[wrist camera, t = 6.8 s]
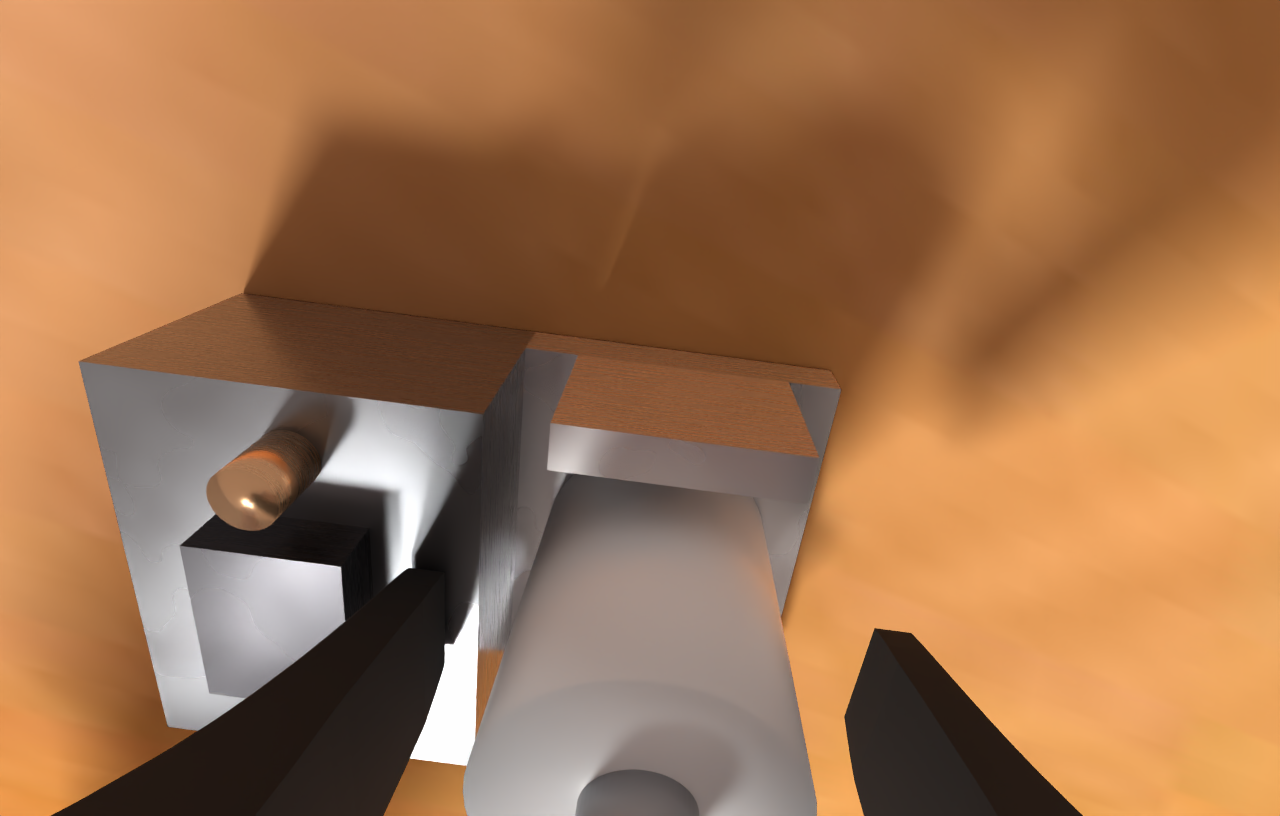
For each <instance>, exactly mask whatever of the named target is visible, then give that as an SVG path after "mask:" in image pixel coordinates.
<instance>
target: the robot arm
mask: <svg viewBox="0 0 1280 816" xmlns="http://www.w3.org/2000/svg"><path fill="white" fill-rule="evenodd" d="M444 666H445V572H439V571H431V570H423V569H415V568H407V569H406V570H404V571H403V572H402V573H401V574H399V575H398V576H397V577H396V578H395V579H394V580H392V581H391V582H390V583H389V584H388V585H387V586H386V587H384V588H383V589H382V590H381V591H380V592H379V593H377V594H376V595H375V596H374V597H373V598H372V599H371V600H369V601H368V602H367V603H366V604H365V605H364V606H363V607H361V608H360V609H359V610H358V611H357V612H355V613H354V614H353V615H352V616H351V617H350V618H348V619H347V620H346V621H345V622H344V623H343V624H341V625H340V626H339V627H338V628H336V629H335V630H334V631H333V632H331V633H330V634H329V635H328V636H327V637H325V638H324V639H323V640H322V641H320V642H319V643H318V644H317V645H316V646H314V647H313V648H312V649H311V650H309V651H308V652H307V653H306V654H304V655H303V656H302V657H301V658H299V659H298V660H297V661H295V662H294V663H293V664H291V665H290V666H289V667H287V668H286V669H285V670H283V671H282V672H281V673H279V674H278V675H277V676H275V677H274V678H273V679H271V680H270V681H269V682H267V683H266V684H265V685H263V686H262V687H261V688H259V689H258V690H257V691H255V692H254V693H253V694H251V695H250V696H248V697H247V698H246V699H244V700H243V701H241V702H240V703H238V704H237V705H236V706H234V707H233V708H231V709H230V710H228V711H227V712H225V713H224V714H223V715H221V716H220V717H218V718H217V719H215V720H214V721H212V722H211V723H209V724H208V725H206V726H205V727H203V728H201V729H200V730H198V731H197V732H195V733H194V734H192V735H191V736H189V737H188V738H186V739H184V740H183V741H181V742H180V743H178V744H177V745H175V746H173V747H172V748H170V749H168V750H167V751H165V752H163V753H162V754H160V755H158V756H157V757H155V758H153V759H152V760H150V761H148V762H146V763H145V764H143V765H141V766H139V767H138V768H136V769H134V770H132V771H131V772H129V773H127V774H125V775H124V776H122V777H120V778H118V779H117V780H115V781H113V782H111V783H110V784H108V785H106V786H104V787H103V788H101V789H99V790H97V791H96V792H94V793H92V794H90V795H89V796H87V797H85V798H83V799H81V800H80V801H78V802H76V803H74V804H72V805H70V806H68V807H66V808H65V809H63V810H61V811H59V812H57V813H55V814H53V815H51V816H383V815H384V813H385V811H386V809H387V806H388V804H389V802H390V800H391V798H392V796H393V793H394V791H395V789H396V787H397V785H398V783H399V781H400V778H401V776H402V774H403V772H404V770H405V768H406V765H407V763H408V761H409V759H410V757H411V754H412V752H413V750H414V748H415V746H416V744H417V741H418V739H419V737H420V735H421V733H422V730H423V728H424V726H425V723H426V720H427V718H428V715H429V712H430V709H431V706H432V703H433V700H434V697H435V694H436V691H437V688H438V685H439V682H440V679H441V675H442V672H443V669H444ZM845 724H846V731H847V738H848V745H849V752H850V757H851V763H852V769H853V775H854V780H855V784H856V788H857V792H858V795H859V799H860V803H861V806H862V810H863V813H864V816H1083V815H1082V814H1080V813H1079V812H1078V811H1077V810H1076V809H1075V808H1074V807H1073V806H1072V805H1071V804H1070V803H1069V802H1068V801H1067V800H1066V799H1065V798H1064V797H1063V796H1062V795H1061V794H1060V793H1059V792H1058V791H1057V790H1056V789H1055V788H1054V787H1053V786H1052V785H1051V784H1050V783H1049V782H1048V781H1047V780H1046V779H1045V778H1044V777H1043V776H1042V775H1041V774H1040V773H1039V772H1038V771H1037V770H1036V769H1035V768H1034V767H1033V766H1032V765H1031V764H1030V763H1029V762H1028V761H1027V760H1026V759H1025V757H1024V756H1023V755H1022V754H1021V753H1020V752H1019V751H1018V750H1017V749H1016V748H1015V747H1014V746H1013V745H1012V744H1011V743H1010V742H1009V741H1008V740H1007V738H1006V737H1005V736H1004V735H1003V734H1002V733H1001V732H1000V731H999V730H998V729H997V728H996V727H995V726H994V724H993V723H992V722H991V721H990V720H989V719H988V718H987V717H986V716H985V715H984V713H983V712H982V711H981V710H980V709H979V708H978V707H977V706H976V705H975V704H974V702H973V701H972V700H971V699H970V698H969V697H968V696H967V695H966V693H965V692H964V691H963V690H962V689H961V688H960V687H959V686H958V684H957V683H956V682H955V681H954V680H953V679H952V678H951V677H950V675H949V674H948V673H947V672H946V671H945V670H944V669H943V667H942V666H941V665H940V664H939V663H938V662H937V661H936V660H935V658H934V657H933V656H932V655H931V654H930V653H929V652H928V651H927V650H926V648H925V647H924V646H923V645H922V644H921V643H920V642H919V641H918V640H917V639H916V638H915V637H914V636H913V634H912V633H906V632H899V631H891V630H883V629H876V628H875V629H874V632H873V635H872V638H871V641H870V644H869V647H868V649H867V652H866V655H865V658H864V661H863V664H862V667H861V670H860V673H859V676H858V679H857V682H856V684H855V687H854V690H853V693H852V696H851V699H850V702H849V705H848V708H847V711H846V714H845Z"/></svg>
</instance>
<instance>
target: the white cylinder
mask: <svg viewBox="0 0 1280 816" xmlns="http://www.w3.org/2000/svg"><path fill="white" fill-rule="evenodd" d="M463 796H464V805H465V809H466V812H467V816H817V801H816V796H815V790H814V785H813V780H812V775H811V770H810V765H809V759H808V754H807V749H806V744H805V739H804V734H803V729H802V724H801V718H800V713H799V708H798V703H797V698H796V693H795V688H794V682H793V677H792V672H791V667H790V662H789V657H788V652H787V647H786V641H785V636H784V631H783V626H782V621H781V616H780V611H779V606H778V600H777V595H776V590H775V585H774V580H773V575H772V570H771V565H770V559H769V554H768V549H767V544H766V539H765V534H764V529H763V524H762V518H761V515H760V513H759V510H758V507H757V505H756V503H755V501H754V499H753V497H749V496H742V495H734V494H726V493H719V492H711V491H703V490H696V489H688V488H681V487H673V486H665V485H658V484H650V483H642V482H635V481H627V480H619V479H612V478H604V477H596V476H589V475H581V474H573V475H572V477H571V478H570V479H569V480H568V481H567V482H566V483H565V484H564V486H563V487H562V489H561V490H560V492H559V493H558V495H557V497H556V499H555V501H554V503H553V505H552V508H551V511H550V514H549V517H548V520H547V523H546V526H545V529H544V532H543V536H542V539H541V542H540V545H539V548H538V551H537V554H536V557H535V560H534V563H533V566H532V569H531V572H530V575H529V578H528V581H527V584H526V587H525V590H524V593H523V596H522V599H521V602H520V605H519V608H518V611H517V614H516V617H515V620H514V624H513V627H512V630H511V633H510V636H509V639H508V642H507V645H506V648H505V651H504V654H503V657H502V660H501V663H500V666H499V669H498V672H497V675H496V678H495V681H494V684H493V687H492V690H491V693H490V696H489V699H488V702H487V705H486V708H485V711H484V715H483V718H482V721H481V724H480V727H479V730H478V733H477V736H476V739H475V742H474V745H473V748H472V751H471V754H470V757H469V760H468V764H467V767H466V771H465V774H464V783H463Z"/></svg>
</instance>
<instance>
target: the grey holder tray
mask: <svg viewBox="0 0 1280 816" xmlns="http://www.w3.org/2000/svg"><path fill="white" fill-rule="evenodd" d="M79 365H80V369H81V373H82V377H83V382H84V386H85V390H86V394H87V398H88V402H89V406H90V410H91V414H92V418H93V423H94V427H95V431H96V435H97V439H98V443H99V447H100V451H101V455H102V459H103V463H104V468H105V472H106V476H107V480H108V484H109V488H110V492H111V496H112V500H113V504H114V509H115V513H116V517H117V521H118V525H119V529H120V533H121V537H122V541H123V545H124V550H125V554H126V558H127V562H128V566H129V570H130V574H131V578H132V582H133V586H134V590H135V595H136V599H137V603H138V607H139V611H140V615H141V619H142V623H143V627H144V631H145V636H146V640H147V644H148V648H149V652H150V656H151V660H152V664H153V668H154V672H155V677H156V681H157V685H158V689H159V693H160V697H161V701H162V705H163V709H164V713H165V717H166V722H167V726H168V727H173V728H181V729H188V730H196V731H198V730H200V729H201V728H203V727H205V726H206V725H208V724H209V723H211V722H212V721H214V720H215V719H217V718H218V717H220V716H221V715H223V714H224V713H225V712H227V711H228V710H230V709H231V708H233V707H234V706H236V705H237V704H238V703H240V702H241V701H243V700H244V699H246V698H247V697H248V696H250V695H251V694H253V693H254V692H255V691H257V690H258V689H259V688H261V687H262V686H263V685H265V684H266V683H267V682H269V681H270V680H271V679H273V678H274V677H275V676H277V675H278V674H279V673H281V672H282V671H283V670H285V669H286V668H287V667H289V666H290V665H291V664H293V663H294V662H295V661H297V660H298V659H299V658H301V657H302V656H303V655H304V654H306V653H307V652H308V651H309V650H311V649H312V648H313V647H314V646H316V645H317V644H318V643H319V642H320V641H322V640H323V639H324V638H325V637H327V636H328V635H329V634H330V633H331V632H333V631H334V630H335V629H336V628H338V627H339V626H340V625H341V624H343V623H344V622H345V621H346V620H347V619H348V618H350V617H351V616H352V615H353V614H354V613H355V612H357V611H358V610H359V609H360V608H361V607H363V606H364V605H365V604H366V603H367V602H368V601H369V600H371V599H372V598H373V597H374V596H375V595H376V594H377V593H379V592H380V591H381V590H382V589H383V588H384V587H386V586H387V585H388V584H389V583H390V582H391V581H392V580H394V579H395V578H396V577H397V576H398V575H399V574H401V573H402V572H403V571H404V570H406V569H407V568H415V569H423V570H431V571H439V572H445V666H444V669H443V672H442V675H441V679H440V682H439V685H438V688H437V691H436V694H435V697H434V700H433V703H432V706H431V709H430V712H429V715H428V718H427V720H426V723H425V726H424V728H423V730H422V733H421V735H420V737H419V739H418V741H417V744H416V746H415V748H414V750H413V752H412V754H411V757H410V758H411V759H419V760H427V761H434V762H442V763H450V764H457V765H465V766H467V764H468V760H469V757H470V754H471V751H472V748H473V745H474V742H475V739H476V736H477V733H478V730H479V727H480V724H481V721H482V718H483V715H484V711H485V708H486V705H487V702H488V699H489V696H490V693H491V690H492V687H493V684H494V681H495V678H496V675H497V672H498V669H499V666H500V663H501V660H502V657H503V654H504V651H505V648H506V645H507V642H508V639H509V636H510V633H511V630H512V627H513V624H514V620H515V617H516V614H517V611H518V608H519V605H520V602H521V599H522V596H523V593H524V590H525V587H526V584H527V581H528V578H529V575H530V572H531V569H532V566H533V563H534V560H535V557H536V554H537V551H538V548H539V545H540V542H541V539H542V536H543V532H544V529H545V526H546V523H547V520H548V517H549V514H550V511H551V508H552V505H553V503H554V501H555V499H556V497H557V495H558V493H559V492H560V490H561V489H562V487H563V486H564V484H565V483H566V482H567V481H568V480H569V479H570V478H571V477H572V475H573V474H581V475H589V476H596V477H604V478H612V479H619V480H627V481H635V482H642V483H650V484H658V485H665V486H673V487H681V488H688V489H696V490H703V491H711V492H719V493H726V494H734V495H742V496H749V497H753V499H754V501H755V503H756V505H757V507H758V510H759V513H760V515H761V518H762V524H763V529H764V534H765V539H766V544H767V549H768V554H769V559H770V565H771V570H772V575H773V580H774V585H775V590H776V595H777V600H778V606H779V611H780V616H781V615H782V612H783V608H784V604H785V600H786V596H787V593H788V589H789V585H790V581H791V578H792V574H793V570H794V566H795V562H796V559H797V555H798V551H799V547H800V544H801V540H802V536H803V532H804V529H805V525H806V521H807V517H808V513H809V510H810V506H811V502H812V498H813V495H814V491H815V487H816V483H817V479H818V476H819V472H820V468H821V464H822V461H823V457H824V453H825V449H826V446H827V442H828V438H829V434H830V430H831V427H832V423H833V419H834V415H835V412H836V408H837V404H838V400H839V397H840V393H841V388H840V386H839V384H838V383H837V381H836V379H835V378H834V376H833V374H832V372H831V371H830V370H823V369H816V368H808V367H800V366H793V365H785V364H777V363H770V362H762V361H754V360H747V359H739V358H732V357H724V356H716V355H709V354H701V353H693V352H686V351H678V350H670V349H663V348H655V347H647V346H640V345H632V344H624V343H617V342H609V341H602V340H594V339H586V338H579V337H571V336H563V335H556V334H548V333H540V332H533V331H525V330H517V329H510V328H502V327H494V326H487V325H479V324H471V323H464V322H456V321H449V320H441V319H433V318H426V317H418V316H410V315H403V314H395V313H387V312H380V311H372V310H364V309H357V308H349V307H341V306H334V305H326V304H319V303H311V302H303V301H296V300H288V299H280V298H273V297H265V296H257V295H250V294H242V293H241V294H239V295H236V296H234V297H231V298H229V299H227V300H224V301H222V302H220V303H217V304H215V305H212V306H210V307H208V308H205V309H203V310H200V311H198V312H196V313H193V314H191V315H188V316H186V317H184V318H181V319H179V320H176V321H174V322H172V323H169V324H167V325H164V326H162V327H160V328H157V329H155V330H153V331H150V332H148V333H145V334H143V335H141V336H138V337H136V338H133V339H131V340H129V341H126V342H124V343H121V344H119V345H117V346H114V347H112V348H109V349H107V350H105V351H102V352H100V353H98V354H95V355H93V356H90V357H88V358H86V359H83V360H81V361H79Z"/></svg>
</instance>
